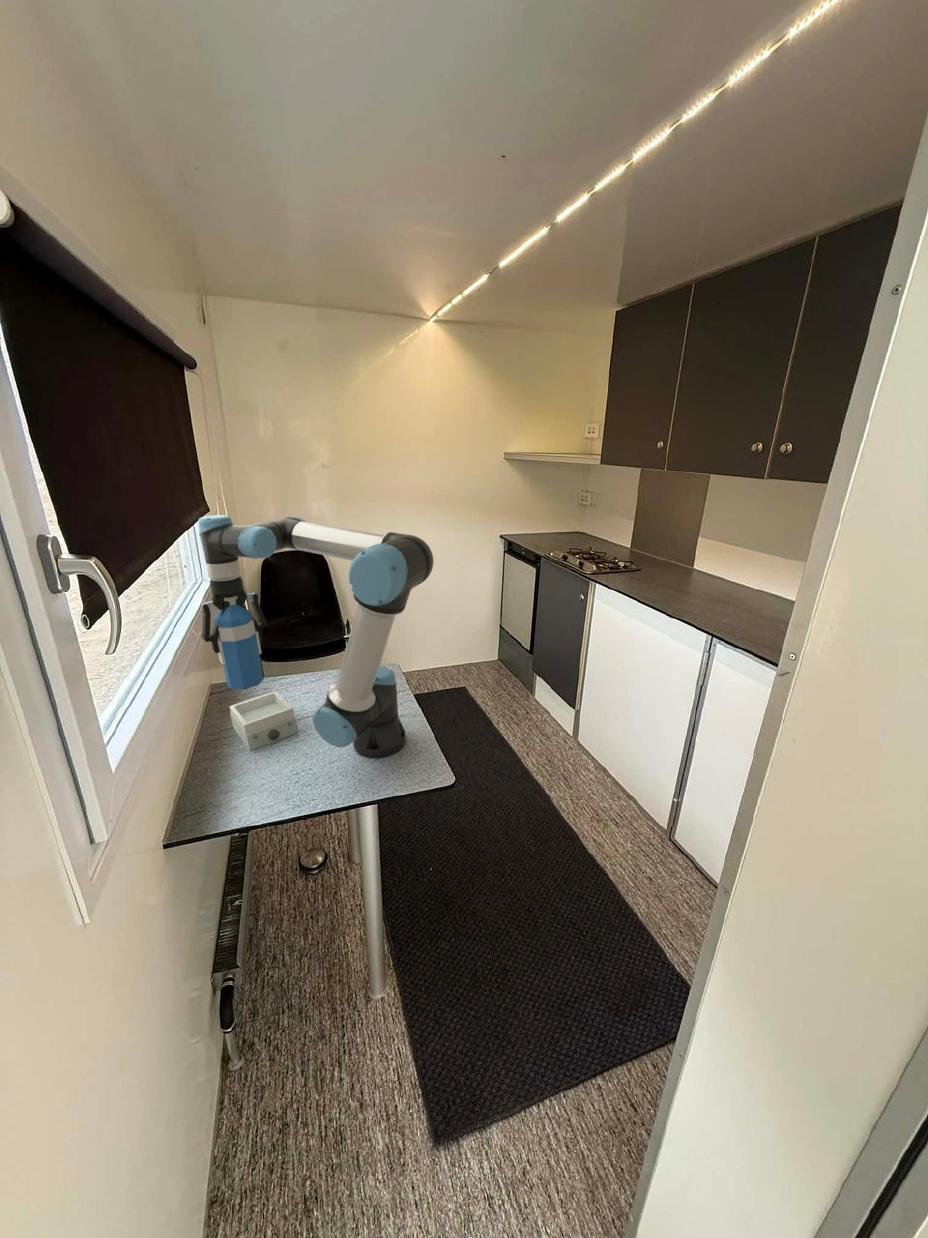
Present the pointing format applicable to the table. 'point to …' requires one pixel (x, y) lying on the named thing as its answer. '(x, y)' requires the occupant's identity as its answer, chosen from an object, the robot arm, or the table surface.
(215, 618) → the water bottle
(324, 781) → the table surface
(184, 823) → the table surface
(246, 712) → the open storage box
